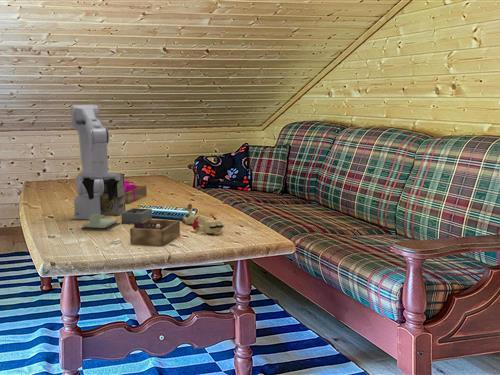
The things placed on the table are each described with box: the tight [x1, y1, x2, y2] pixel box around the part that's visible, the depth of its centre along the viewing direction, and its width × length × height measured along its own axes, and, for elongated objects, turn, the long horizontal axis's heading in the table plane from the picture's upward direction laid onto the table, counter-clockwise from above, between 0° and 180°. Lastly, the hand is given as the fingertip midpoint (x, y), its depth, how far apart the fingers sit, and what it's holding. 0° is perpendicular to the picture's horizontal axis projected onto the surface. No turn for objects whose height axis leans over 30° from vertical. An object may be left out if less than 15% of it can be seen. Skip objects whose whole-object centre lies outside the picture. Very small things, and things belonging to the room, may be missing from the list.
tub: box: [120, 207, 153, 225], centre depth 234 cm, size 8×10×4 cm
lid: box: [82, 214, 119, 228], centre depth 224 cm, size 9×11×5 cm
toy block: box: [124, 179, 136, 202], centre depth 281 cm, size 15×6×8 cm, turn 22°
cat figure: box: [181, 203, 225, 235], centre depth 220 cm, size 10×9×25 cm
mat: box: [81, 222, 122, 231], centre depth 225 cm, size 10×11×1 cm
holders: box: [125, 184, 181, 247], centre depth 244 cm, size 21×104×5 cm, turn 17°
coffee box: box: [100, 172, 126, 216], centre depth 248 cm, size 9×6×16 cm
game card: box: [133, 223, 161, 230], centre depth 201 cm, size 7×5×9 cm
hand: (101, 199), depth 221 cm, fingers open, 7 cm apart
